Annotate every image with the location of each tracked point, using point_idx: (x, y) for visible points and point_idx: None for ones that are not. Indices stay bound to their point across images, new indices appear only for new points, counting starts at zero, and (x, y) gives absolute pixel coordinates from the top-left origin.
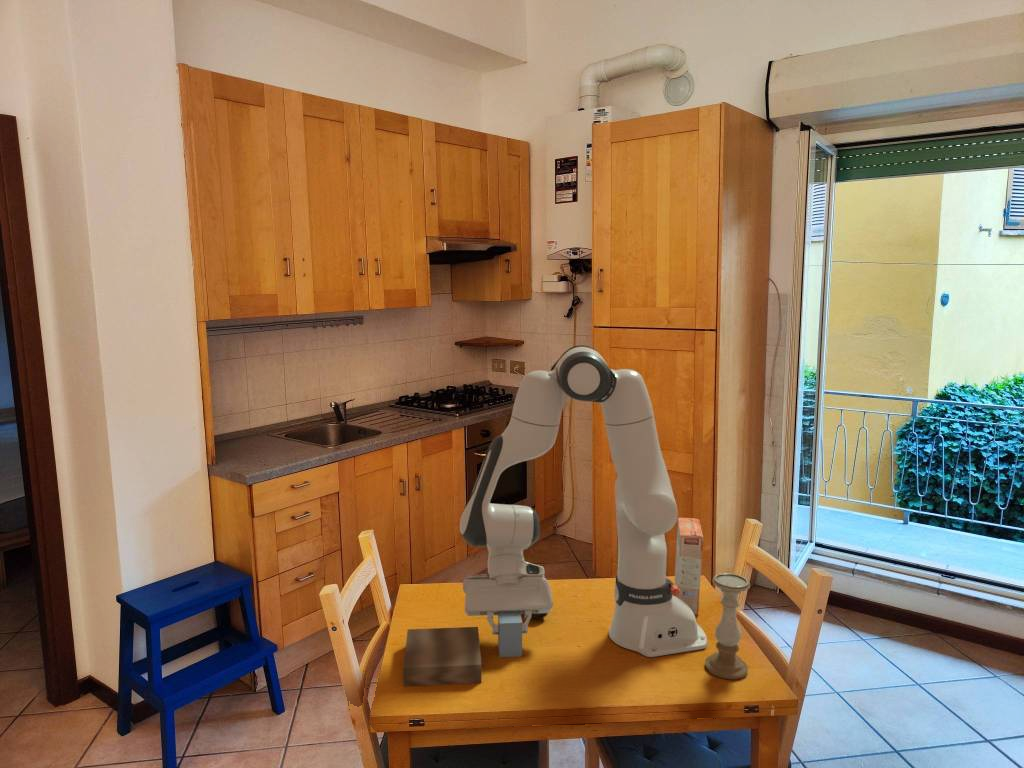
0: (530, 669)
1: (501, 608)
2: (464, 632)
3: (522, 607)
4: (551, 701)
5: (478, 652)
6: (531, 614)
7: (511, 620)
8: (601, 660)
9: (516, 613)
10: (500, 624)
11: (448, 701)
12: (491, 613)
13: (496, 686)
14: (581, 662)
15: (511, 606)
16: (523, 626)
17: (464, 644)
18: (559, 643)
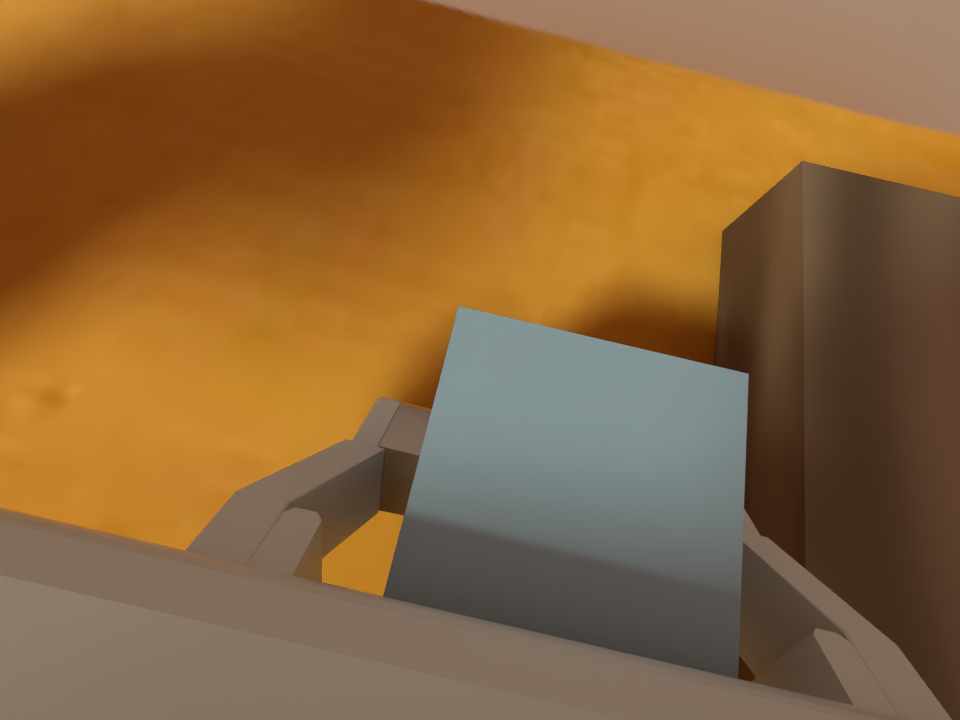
0: (457, 258)
1: (770, 706)
2: (935, 645)
3: (319, 610)
4: (457, 35)
5: (815, 294)
6: (229, 500)
7: (583, 401)
8: (39, 216)
9: (446, 603)
10: (729, 374)
11: (868, 158)
12: (873, 692)
13: (657, 186)
14: (159, 232)
15: (559, 698)
16: (411, 427)
17: (920, 432)
18: (151, 470)
